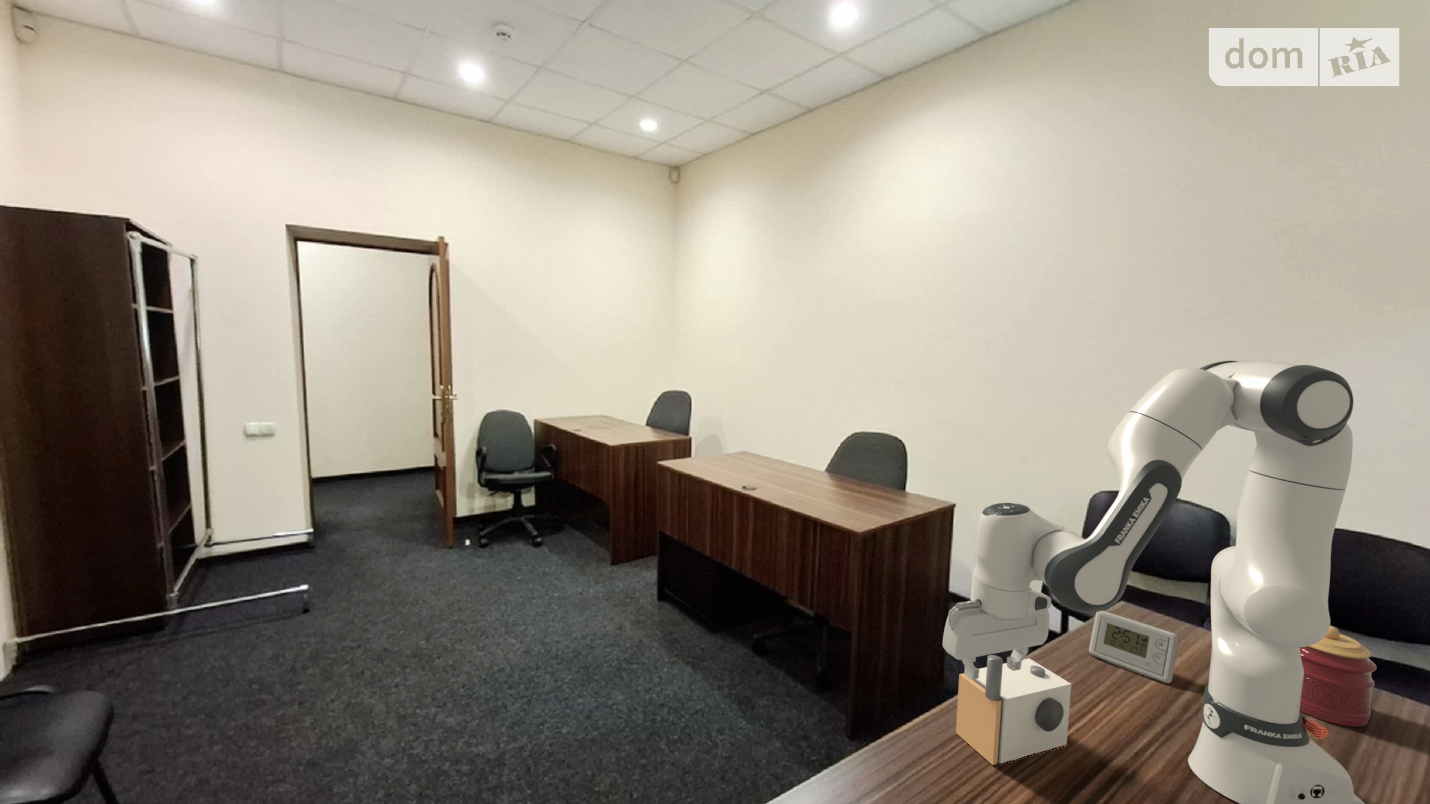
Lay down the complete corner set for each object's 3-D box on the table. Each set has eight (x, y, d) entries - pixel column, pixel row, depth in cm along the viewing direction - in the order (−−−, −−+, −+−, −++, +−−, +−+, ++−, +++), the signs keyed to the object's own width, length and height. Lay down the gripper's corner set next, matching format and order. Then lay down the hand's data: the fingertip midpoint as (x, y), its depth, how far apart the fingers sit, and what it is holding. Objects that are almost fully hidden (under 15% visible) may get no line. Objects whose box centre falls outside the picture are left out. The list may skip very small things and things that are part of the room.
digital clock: (1083, 654, 136) (1087, 611, 135) (1104, 645, 140) (1108, 604, 139) (1161, 690, 122) (1166, 643, 121) (1182, 679, 126) (1186, 634, 125)
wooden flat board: (963, 730, 107) (968, 637, 105) (1000, 763, 98) (1007, 661, 97) (952, 733, 106) (958, 639, 104) (989, 766, 97) (996, 663, 96)
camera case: (1025, 715, 112) (1029, 654, 111) (1071, 749, 102) (1076, 682, 101) (960, 731, 107) (964, 667, 105) (1003, 769, 97) (1008, 698, 96)
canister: (1354, 703, 118) (1364, 622, 117) (1381, 737, 107) (1393, 649, 106) (1269, 682, 125) (1278, 606, 124) (1287, 712, 114) (1296, 629, 113)
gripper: (964, 612, 90) (958, 693, 91) (1058, 598, 97) (1051, 673, 98) (937, 595, 96) (931, 672, 97) (1027, 583, 103) (1021, 655, 104)
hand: (992, 673), depth 98 cm, fingers open, 8 cm apart
